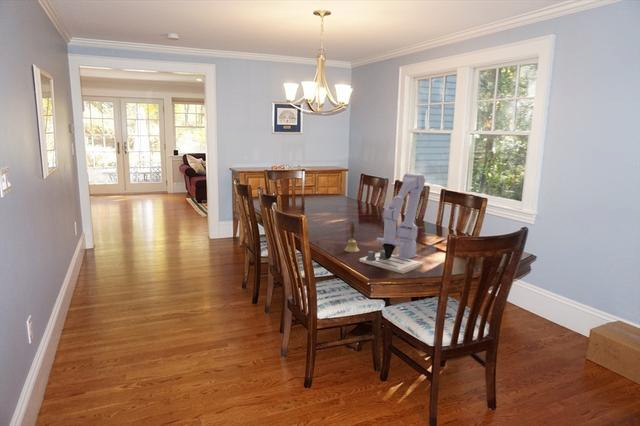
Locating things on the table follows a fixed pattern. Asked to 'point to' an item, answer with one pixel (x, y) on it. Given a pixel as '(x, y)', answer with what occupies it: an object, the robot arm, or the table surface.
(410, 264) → the switch board
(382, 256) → the knob
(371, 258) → the knob
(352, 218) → the table surface
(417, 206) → the robot arm
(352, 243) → the hand bell
